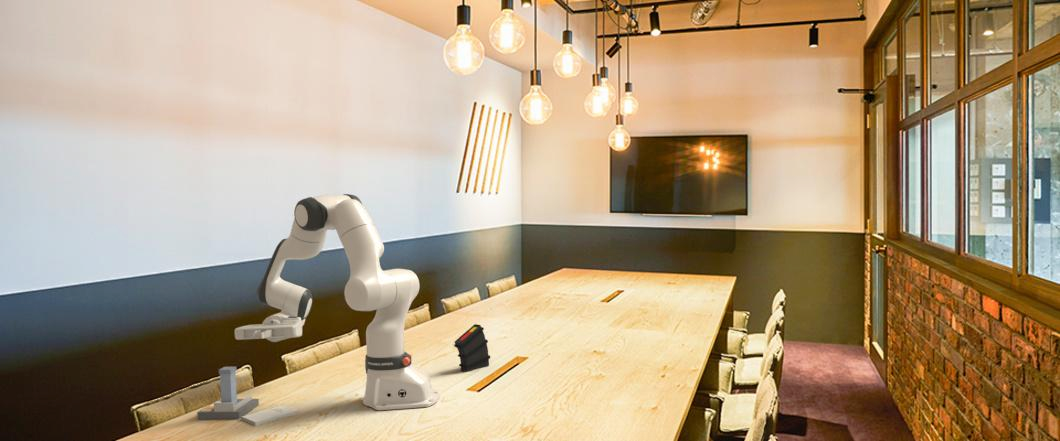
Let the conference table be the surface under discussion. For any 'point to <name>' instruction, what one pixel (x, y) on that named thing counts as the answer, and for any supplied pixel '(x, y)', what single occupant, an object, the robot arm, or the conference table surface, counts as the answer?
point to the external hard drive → (268, 415)
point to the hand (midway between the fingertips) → (257, 336)
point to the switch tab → (228, 384)
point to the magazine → (473, 349)
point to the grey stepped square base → (228, 409)
